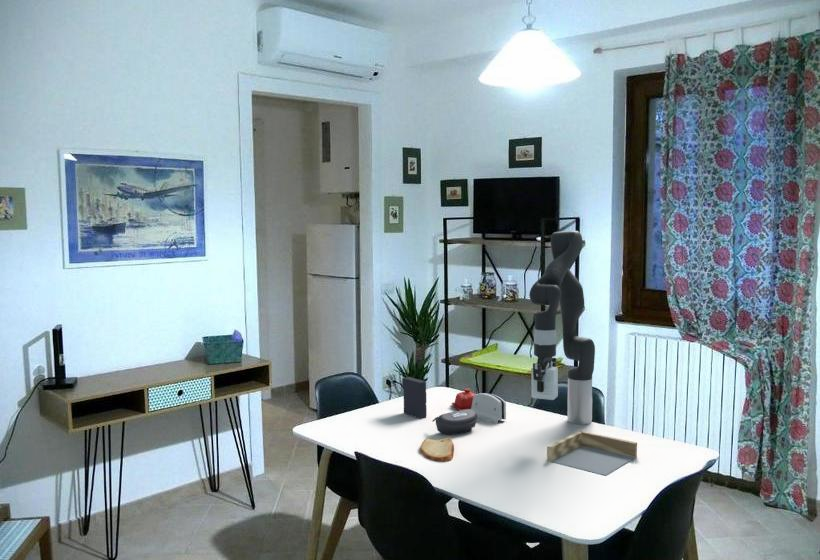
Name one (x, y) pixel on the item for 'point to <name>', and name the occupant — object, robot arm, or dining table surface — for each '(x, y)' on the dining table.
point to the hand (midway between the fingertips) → (544, 389)
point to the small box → (546, 384)
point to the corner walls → (591, 445)
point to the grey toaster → (489, 407)
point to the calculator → (414, 397)
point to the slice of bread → (438, 449)
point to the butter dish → (464, 400)
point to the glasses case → (456, 421)
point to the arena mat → (593, 460)
